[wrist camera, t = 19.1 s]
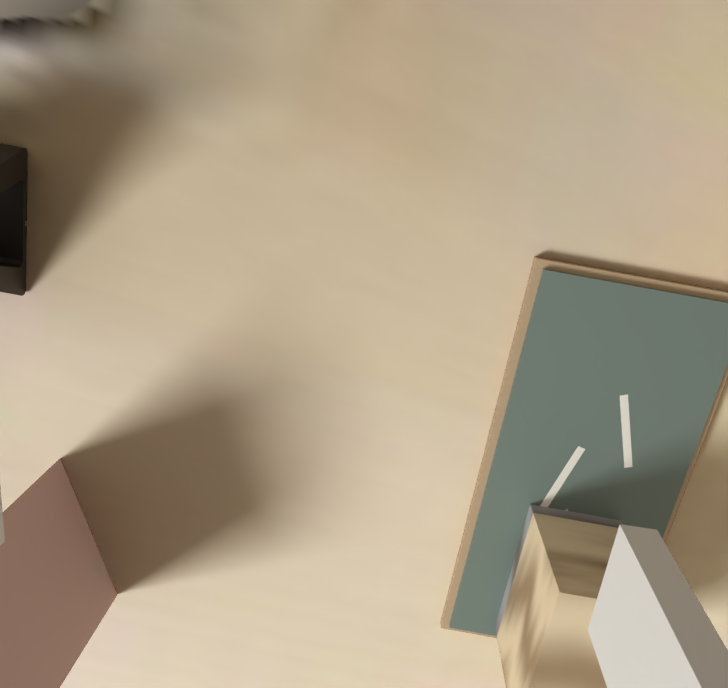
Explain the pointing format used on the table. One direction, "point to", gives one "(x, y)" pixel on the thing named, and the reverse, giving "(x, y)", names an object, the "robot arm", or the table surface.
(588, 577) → the eraser block
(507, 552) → the chalkboard
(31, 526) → the greeting card
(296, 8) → the table surface
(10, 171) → the phone stand
